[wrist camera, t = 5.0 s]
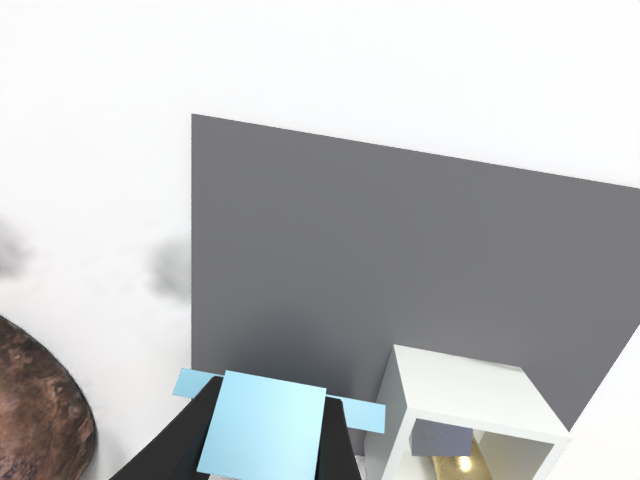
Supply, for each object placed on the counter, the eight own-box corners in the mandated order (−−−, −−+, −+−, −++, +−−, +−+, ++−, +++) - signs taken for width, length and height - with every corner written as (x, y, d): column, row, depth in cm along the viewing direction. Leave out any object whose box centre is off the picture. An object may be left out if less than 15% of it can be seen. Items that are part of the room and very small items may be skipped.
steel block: (452, 409, 19) (470, 456, 16) (402, 409, 20) (411, 455, 17) (454, 370, 18) (474, 414, 15) (401, 371, 19) (411, 414, 16)
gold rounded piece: (463, 452, 21) (482, 503, 18) (420, 443, 21) (432, 493, 18) (478, 421, 19) (500, 470, 17) (433, 413, 20) (448, 460, 17)
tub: (471, 462, 21) (502, 542, 17) (363, 441, 22) (368, 516, 17) (520, 367, 18) (572, 437, 14) (393, 344, 18) (407, 407, 14)
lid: (350, 404, 20) (346, 445, 19) (229, 382, 21) (218, 421, 20) (421, 406, 9) (422, 514, 7) (133, 353, 9) (90, 450, 8)
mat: (529, 483, 22) (532, 488, 22) (193, 419, 23) (191, 423, 22) (711, 201, 14) (719, 202, 14) (194, 114, 15) (191, 113, 15)
